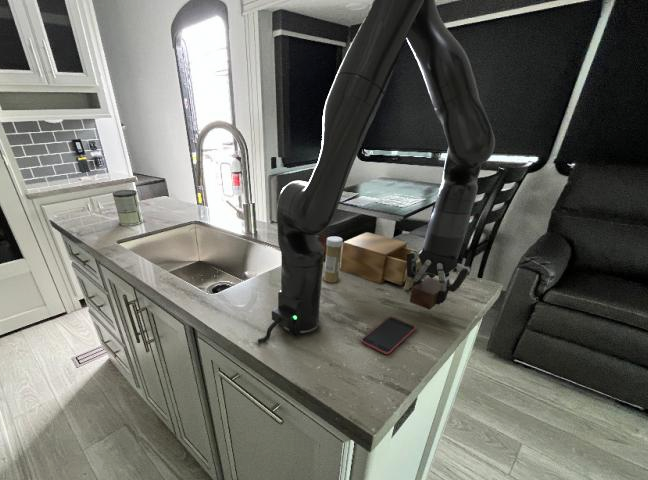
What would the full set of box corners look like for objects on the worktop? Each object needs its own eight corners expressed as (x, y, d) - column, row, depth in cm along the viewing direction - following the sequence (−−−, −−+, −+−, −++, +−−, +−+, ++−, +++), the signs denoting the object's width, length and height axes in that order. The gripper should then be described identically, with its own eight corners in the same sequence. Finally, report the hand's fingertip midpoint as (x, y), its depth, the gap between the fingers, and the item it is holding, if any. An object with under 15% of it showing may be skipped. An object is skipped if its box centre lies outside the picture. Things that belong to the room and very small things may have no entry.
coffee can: (117, 222, 154) (109, 191, 147) (138, 218, 160) (132, 188, 153) (124, 227, 148) (116, 195, 140) (146, 222, 153) (139, 192, 146)
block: (443, 298, 79) (448, 283, 77) (429, 310, 74) (434, 294, 72) (423, 291, 82) (427, 277, 80) (409, 302, 77) (412, 287, 75)
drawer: (442, 281, 97) (449, 257, 93) (424, 295, 89) (431, 270, 85) (386, 263, 108) (390, 241, 104) (366, 275, 101) (370, 252, 97)
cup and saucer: (338, 263, 111) (339, 246, 108) (303, 259, 114) (304, 243, 111) (340, 250, 121) (342, 234, 118) (309, 247, 124) (310, 232, 121)
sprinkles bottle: (341, 280, 100) (346, 239, 93) (330, 284, 97) (334, 242, 91) (331, 275, 103) (335, 234, 96) (320, 278, 101) (323, 237, 94)
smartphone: (359, 339, 73) (389, 315, 81) (359, 341, 73) (389, 317, 81) (388, 354, 68) (417, 326, 77) (387, 356, 69) (416, 328, 77)
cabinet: (401, 270, 106) (407, 242, 101) (380, 284, 98) (385, 254, 93) (362, 258, 115) (366, 232, 110) (340, 269, 107) (343, 242, 102)
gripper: (488, 234, 67) (463, 304, 76) (421, 220, 76) (406, 284, 85) (476, 243, 63) (451, 316, 71) (406, 226, 72) (391, 293, 80)
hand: (427, 298), depth 78 cm, fingers closed on block, 5 cm apart
